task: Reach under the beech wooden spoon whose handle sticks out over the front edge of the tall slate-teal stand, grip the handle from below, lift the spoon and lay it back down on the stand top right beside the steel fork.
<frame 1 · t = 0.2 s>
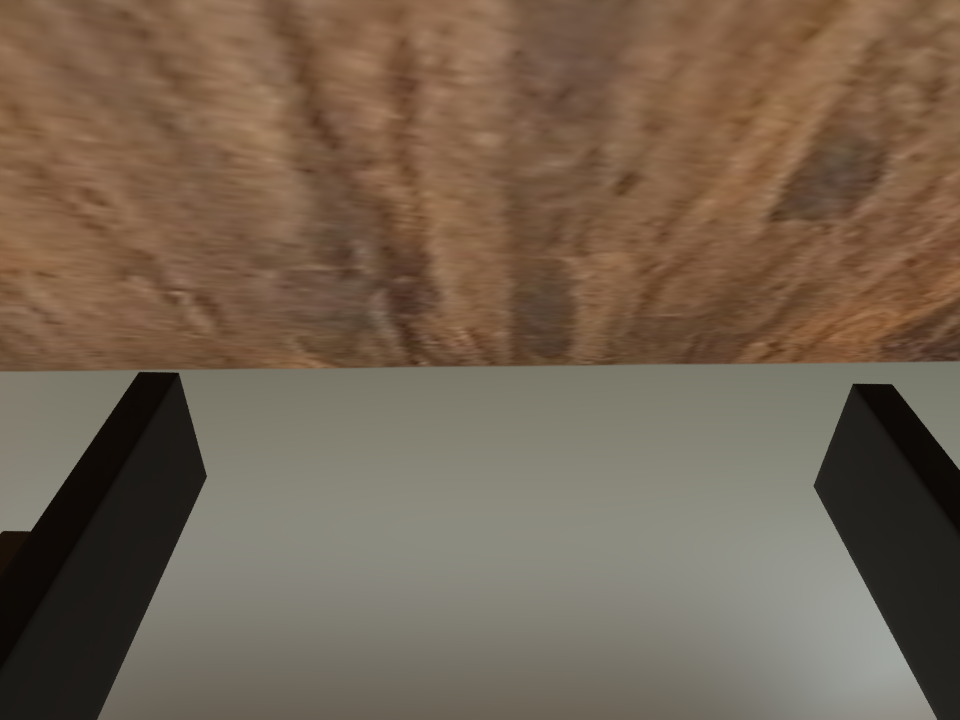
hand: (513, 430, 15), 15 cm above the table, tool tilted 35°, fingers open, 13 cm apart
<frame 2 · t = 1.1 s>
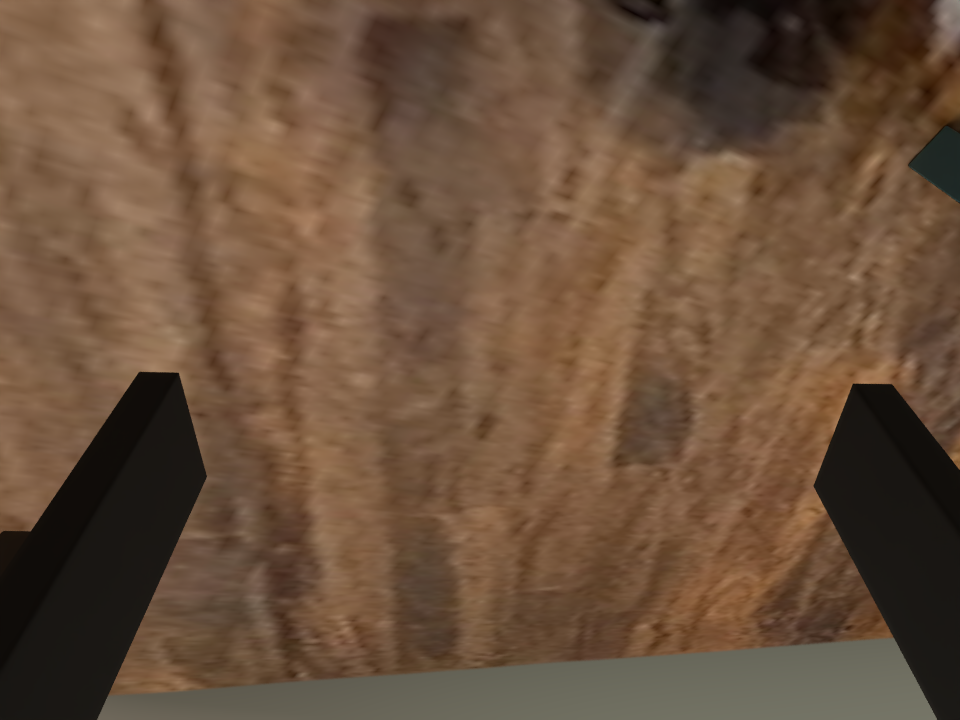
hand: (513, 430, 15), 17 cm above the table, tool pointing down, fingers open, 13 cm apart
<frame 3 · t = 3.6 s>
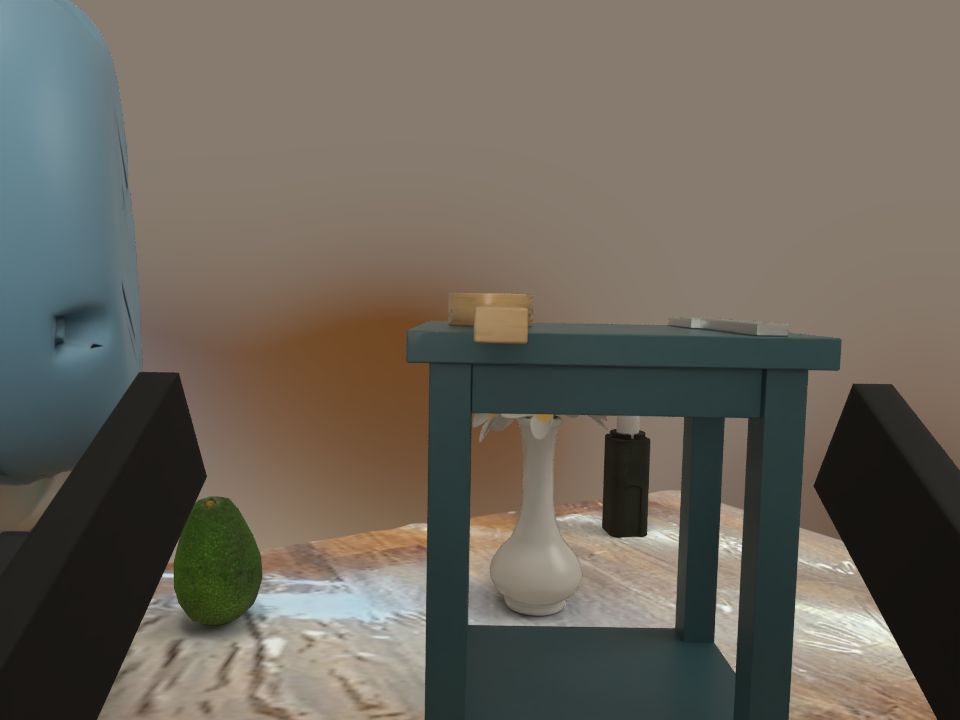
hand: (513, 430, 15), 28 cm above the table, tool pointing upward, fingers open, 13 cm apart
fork: (721, 330, 41), point 29 cm above the table, touching stand
flower vase: (528, 603, 73), on the table
avocado: (219, 625, 67), on the table
candle: (624, 532, 97), on the table
wooden spoon: (492, 330, 35), point 29 cm above the table, touching stand
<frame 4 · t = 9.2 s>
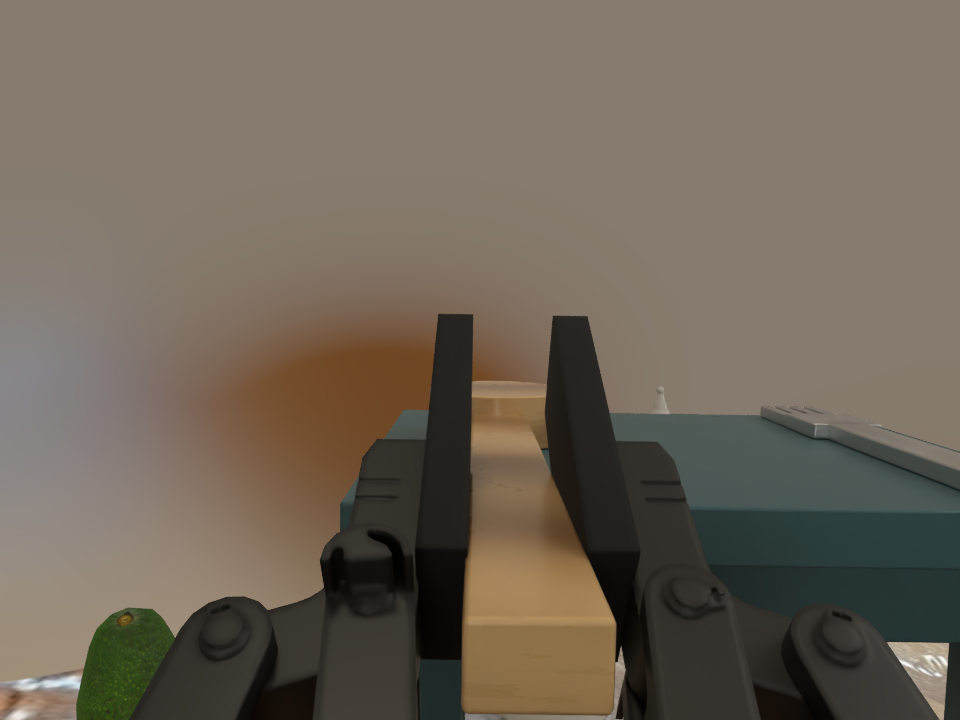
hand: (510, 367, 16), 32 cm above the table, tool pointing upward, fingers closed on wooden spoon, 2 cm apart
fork: (872, 449, 25), point 29 cm above the table, touching stand
candle: (652, 609, 81), on the table
wooden spoon: (503, 482, 19), point 29 cm above the table, touching gripper
when the fingers open (32 cm above the table, at t = 14.4 s): wooden spoon stays where it is, resting on stand.
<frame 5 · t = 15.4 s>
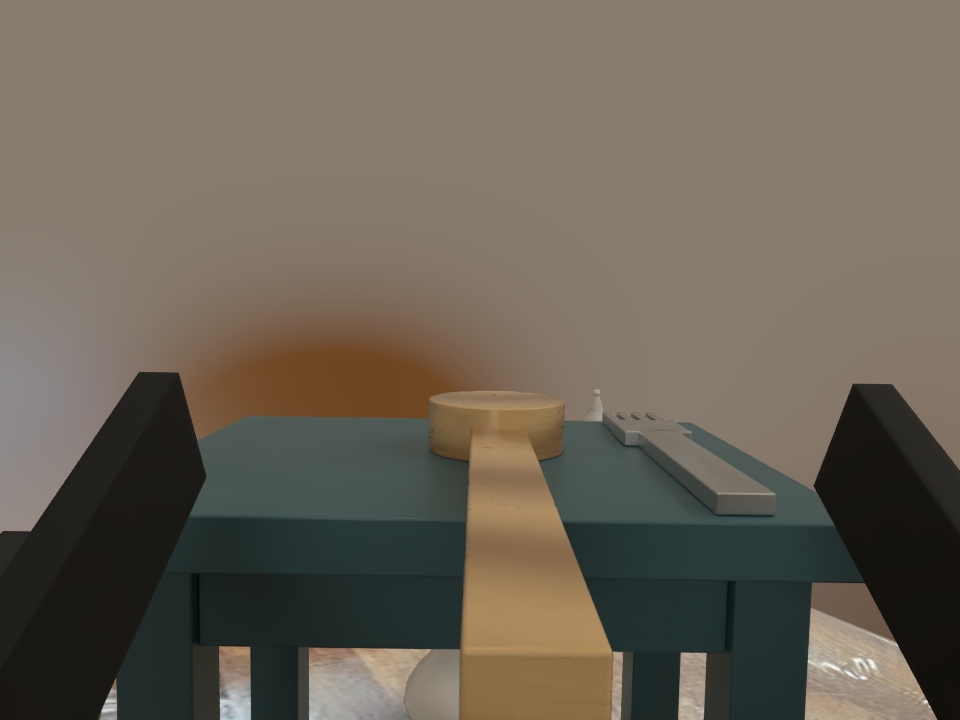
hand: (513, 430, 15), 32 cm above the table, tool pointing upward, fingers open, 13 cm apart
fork: (670, 456, 25), point 29 cm above the table, touching stand
candle: (590, 612, 81), on the table
wooden spoon: (502, 496, 19), point 29 cm above the table, touching stand
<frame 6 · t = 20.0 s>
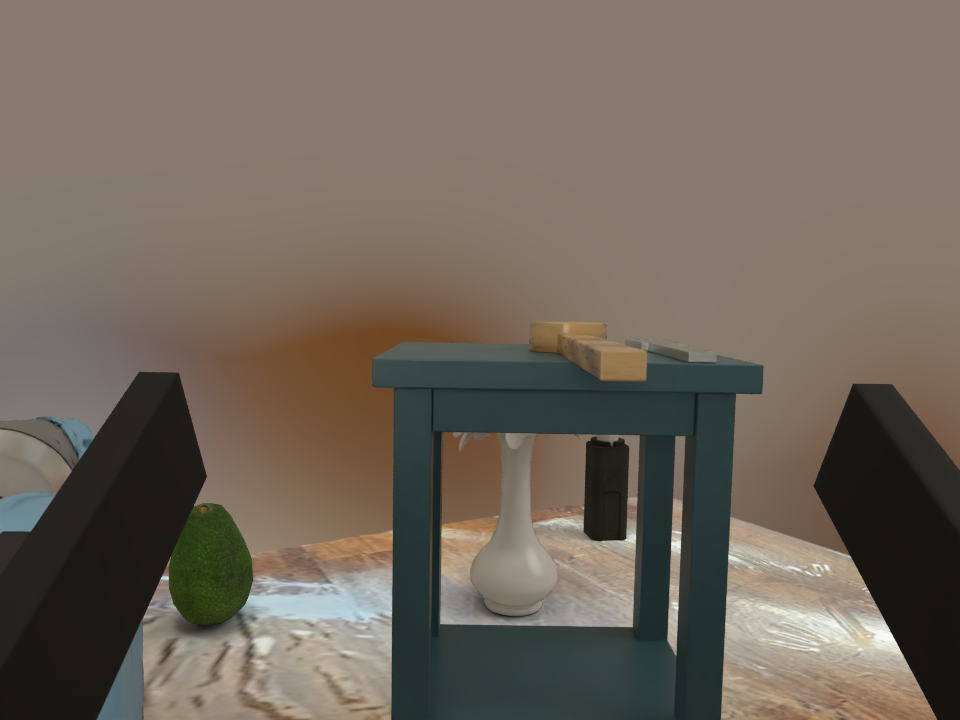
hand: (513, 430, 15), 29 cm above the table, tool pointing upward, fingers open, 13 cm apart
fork: (667, 353, 44), point 29 cm above the table, touching stand
flower vase: (507, 604, 77), on the table
avocado: (212, 625, 71), on the table
candle: (604, 535, 100), on the table
wooden spoon: (582, 358, 39), point 29 cm above the table, touching stand
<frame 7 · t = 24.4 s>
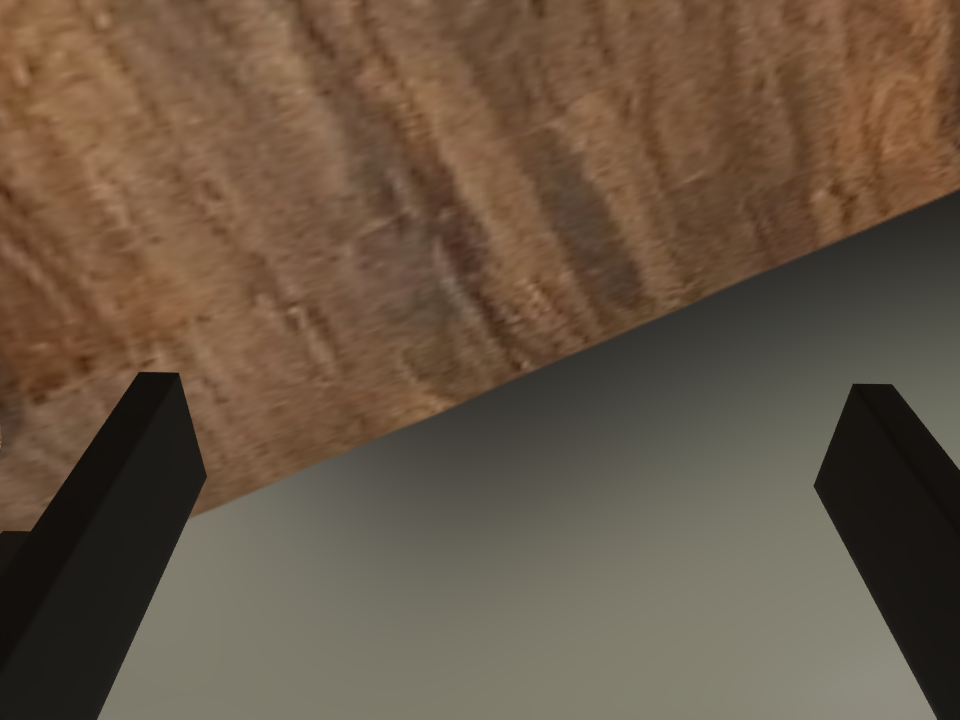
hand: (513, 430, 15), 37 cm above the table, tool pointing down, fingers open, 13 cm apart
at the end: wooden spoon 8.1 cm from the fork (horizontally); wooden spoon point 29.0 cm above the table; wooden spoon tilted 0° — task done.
